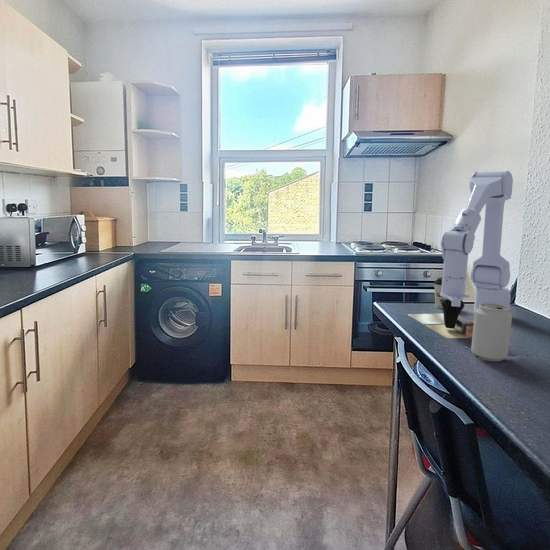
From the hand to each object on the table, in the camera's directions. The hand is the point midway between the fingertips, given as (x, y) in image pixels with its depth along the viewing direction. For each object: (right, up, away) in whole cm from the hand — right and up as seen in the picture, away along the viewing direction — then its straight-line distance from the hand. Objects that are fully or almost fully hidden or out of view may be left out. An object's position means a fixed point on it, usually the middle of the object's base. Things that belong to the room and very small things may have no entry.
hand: (449, 327), depth 115 cm
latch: (+3, 0, +2) cm, 4 cm away
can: (+2, -5, -17) cm, 18 cm away
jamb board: (+3, -1, +6) cm, 7 cm away
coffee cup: (+8, +2, +26) cm, 27 cm away
